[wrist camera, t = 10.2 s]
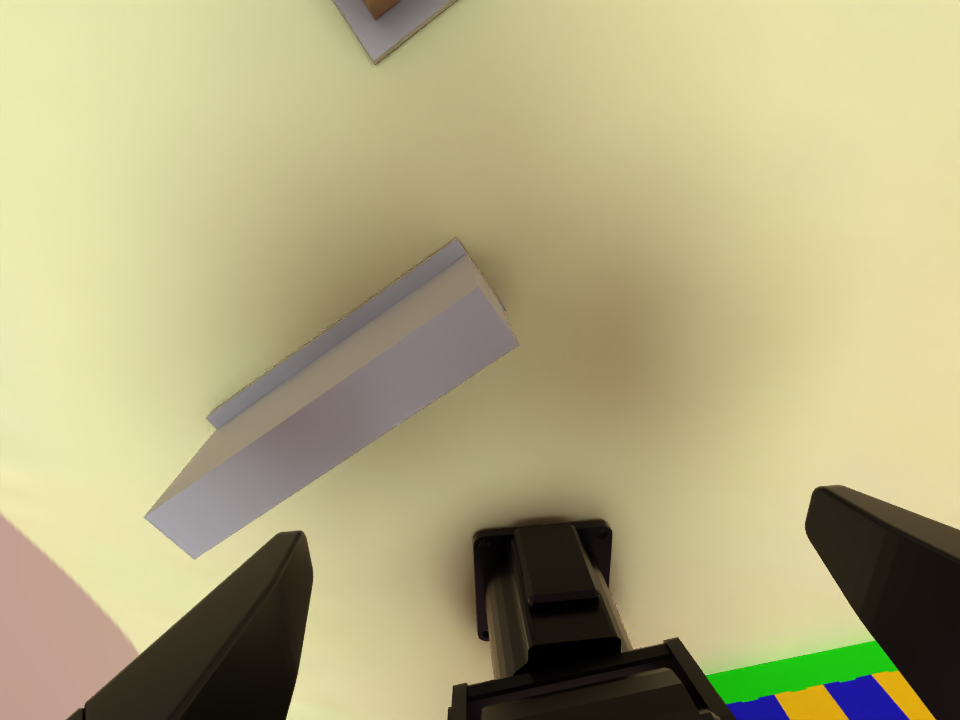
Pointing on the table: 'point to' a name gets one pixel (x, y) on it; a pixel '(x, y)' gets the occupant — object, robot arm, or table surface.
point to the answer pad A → (389, 23)
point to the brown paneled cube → (379, 6)
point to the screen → (336, 397)
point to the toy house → (822, 688)
